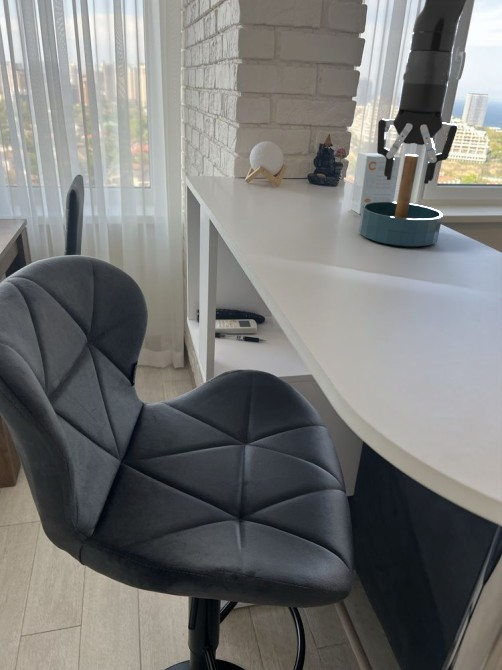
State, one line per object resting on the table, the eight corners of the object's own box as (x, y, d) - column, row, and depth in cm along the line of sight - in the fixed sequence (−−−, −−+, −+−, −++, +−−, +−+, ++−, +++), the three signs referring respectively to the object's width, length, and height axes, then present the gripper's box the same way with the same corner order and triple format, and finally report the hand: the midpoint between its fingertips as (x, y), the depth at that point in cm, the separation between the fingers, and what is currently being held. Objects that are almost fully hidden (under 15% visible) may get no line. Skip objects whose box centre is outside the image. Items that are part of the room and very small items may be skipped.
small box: (381, 209, 124) (390, 153, 118) (391, 215, 118) (401, 156, 112) (349, 208, 122) (357, 152, 117) (358, 214, 117) (367, 155, 111)
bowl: (437, 234, 104) (443, 207, 102) (434, 253, 91) (441, 223, 89) (365, 224, 108) (369, 198, 106) (352, 241, 96) (356, 212, 93)
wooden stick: (404, 234, 100) (419, 155, 94) (403, 237, 98) (418, 156, 92) (392, 232, 101) (406, 153, 94) (390, 235, 99) (404, 155, 92)
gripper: (469, 84, 89) (447, 182, 96) (386, 80, 93) (371, 174, 100) (469, 83, 82) (446, 188, 90) (380, 79, 87) (365, 180, 94)
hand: (407, 180), depth 95 cm, fingers open, 6 cm apart
